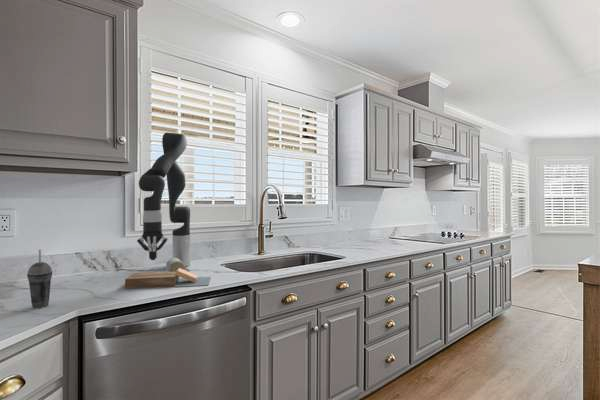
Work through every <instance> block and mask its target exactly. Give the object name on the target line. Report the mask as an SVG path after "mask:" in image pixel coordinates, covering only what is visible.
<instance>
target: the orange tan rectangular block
mask: <svg viewBox="0 0 600 400" xmlns="http://www.w3.org/2000/svg"><path fill="white" fill-rule="evenodd" d="M175 275H177V276H179V278H184V279H187V280H189V281H192V282H194V283H195V281H196V278H197V277H198V276H199V275H197V274H195V273H192V272H191V271H189V272H188V271H186V270H183V269H181V268H179V269H178V270H177V272H176V274H175Z"/></svg>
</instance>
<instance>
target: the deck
mask: <svg viewBox="0 0 600 400" xmlns="http://www.w3.org/2000/svg"><path fill="white" fill-rule="evenodd" d="M176 272H177V271H171V272H169V271H155V272H154V271H151V272H132V274H130V275H129V276H127V277H126V278H125V279H124V289H125V290H127V289H144V288H145V289H146V288H165V287H166V288H167V287H174V286H175V285H176V283H177V282H178V280H179V279H180V277H179V276H177V275H175V274H176Z"/></svg>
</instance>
